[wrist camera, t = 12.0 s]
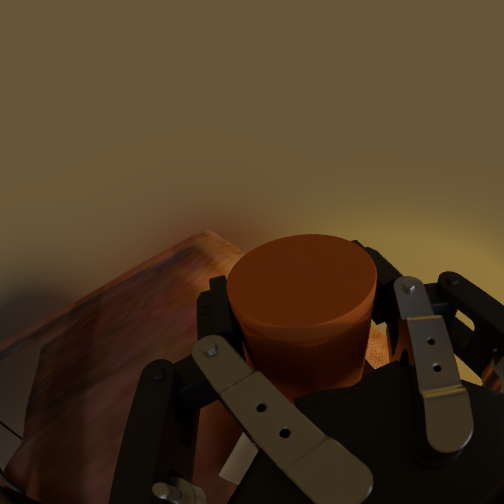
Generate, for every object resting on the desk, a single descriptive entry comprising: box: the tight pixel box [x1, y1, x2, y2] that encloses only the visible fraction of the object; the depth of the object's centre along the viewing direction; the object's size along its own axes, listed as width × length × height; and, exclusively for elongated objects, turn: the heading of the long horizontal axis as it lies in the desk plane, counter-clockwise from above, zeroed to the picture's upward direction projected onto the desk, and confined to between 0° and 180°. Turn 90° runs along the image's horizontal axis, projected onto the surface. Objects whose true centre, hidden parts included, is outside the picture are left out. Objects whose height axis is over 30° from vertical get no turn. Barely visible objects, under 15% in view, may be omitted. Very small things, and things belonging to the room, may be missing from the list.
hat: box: [226, 234, 377, 406], centre depth 12 cm, size 8×8×9 cm
